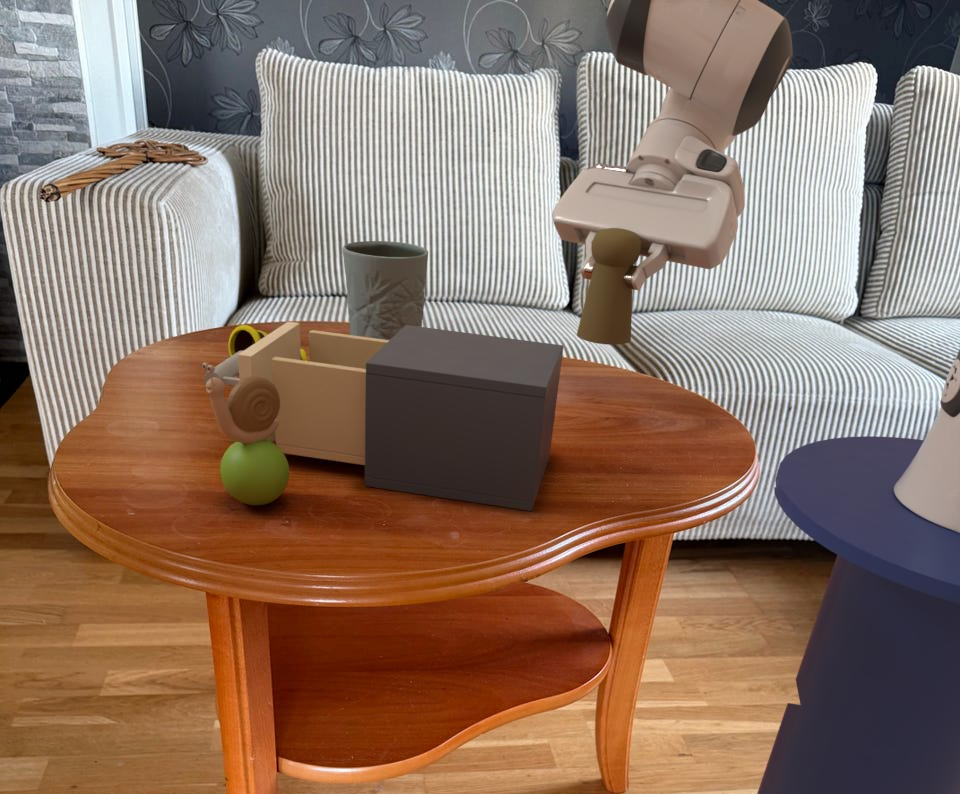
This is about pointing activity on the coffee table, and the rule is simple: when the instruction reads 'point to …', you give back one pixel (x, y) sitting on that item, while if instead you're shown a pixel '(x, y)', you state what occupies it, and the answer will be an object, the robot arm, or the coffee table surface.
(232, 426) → the snail figurine
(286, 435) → the drawer
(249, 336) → the opera glasses
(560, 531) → the coffee table surface
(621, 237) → the cork
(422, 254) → the grey embossed cup
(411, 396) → the cabinet
